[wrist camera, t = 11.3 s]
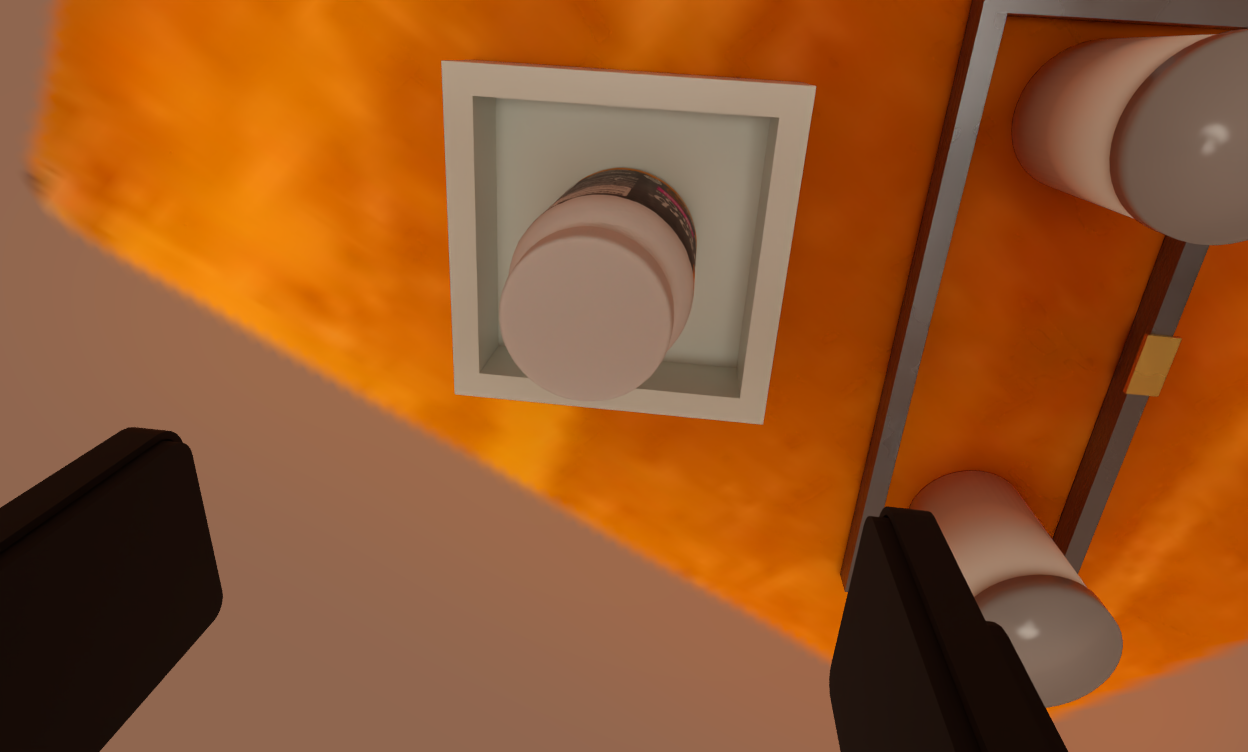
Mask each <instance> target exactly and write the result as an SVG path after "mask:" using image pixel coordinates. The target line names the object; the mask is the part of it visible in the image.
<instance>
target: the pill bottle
mask: <svg viewBox="0 0 1248 752" xmlns="http://www.w3.org/2000/svg"><path fill="white" fill-rule="evenodd" d="M696 250H697V239H696V231H695V226H694V222H693V218H692V216H691V213H690V211H689V209H688V207H687V205H686V203H685V202H684V201H683V199H682V198H681V196H680V195H679V194H678V193H677V192H676V190H675V189H674V188H673V187H671V186H670V185H669V184H668V183H666V182H665V181H664V180H662V179H661V178H659V177H657V176H655V175H653V174H651V173H649V172H646V171H643V170H639V169H635V168H624V167H617V168H609V169H605V170H601V171H598V172H595V173H593V174H591V175H589V176H587V177H585V178H583V179H581V180H580V181H579V182H577V183H576V184H574V185H573V186H572V187H571V188H569V189H568V190H567V191H566V192H565V193H564V194H563V195H562V196H561V197H560V198H559V199H558V200H557V201H556V202H555V203H553V204H552V205H551V206H550V207H549V208H548V209H547V210H546V211H545V212H544V213H543V214H541V215H540V216H539V217H538V218H537V219H536V220H535V221H534V222H533V223H532V224H531V225H530V227H529V228H528V229H527V230H526V232H525V233H524V234H523V236H522V237H521V239H520V240H519V242H518V244H517V247H516V249H515V251H514V254H513V257H512V261H511V264H510V269H509V276H508V278H507V280H506V282H505V285H504V288H503V291H502V295H501V299H500V306H499V321H500V329H501V334H502V338H503V340H504V343H505V346H506V348H507V350H508V352H509V354H510V356H511V357H512V359H513V361H514V362H515V363H516V365H517V366H518V367H519V369H520V370H521V371H522V372H523V373H524V374H525V375H526V376H527V377H528V378H529V379H530V380H532V381H533V382H534V383H535V384H537V385H538V386H540V387H541V388H543V389H545V390H546V391H548V392H550V393H552V394H555V395H557V396H560V397H563V398H567V399H571V400H576V401H603V400H609V399H613V398H616V397H619V396H622V395H625V394H627V393H629V392H631V391H632V390H634V389H636V388H637V387H639V386H640V385H641V384H643V383H644V382H645V381H646V380H647V379H648V378H649V377H650V376H651V375H652V374H653V373H654V372H655V371H656V369H657V368H658V367H659V365H660V363H661V362H662V360H663V358H664V356H665V354H666V352H667V351H668V350H669V349H670V348H671V347H672V345H673V344H674V343H675V341H676V340H677V339H678V337H679V336H680V334H681V332H682V331H683V329H684V327H685V325H686V322H687V320H688V317H689V314H690V311H691V308H692V302H693V296H694V282H695V265H696Z"/></svg>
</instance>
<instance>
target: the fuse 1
mask: <svg viewBox="0 0 1248 752" xmlns="http://www.w3.org/2000/svg"><path fill="white" fill-rule="evenodd" d="M909 509H914V510H924V511H929V512H931V513H932V514H933V515H934V517H935V519H936V521H937V523H938V525H939V527H940V529H941V531H942V533H943V535H944V537H945V539H946V541H947V543H948V545H949V547H950V549H951V551H952V553H953V555H954V557H955V559H956V561H957V563H958V565H959V568H960V570H961V572H962V574H963V576H964V578H965V580H966V582H967V584H968V586H969V588H970V590H971V592H972V594H973V596H974V598H975V600H976V602H977V604H978V606H979V608H980V610H981V612H982V614H983V616H984V618H985V620H986V621H992V622H995V623H997V624H999V625H1000V626H1002V628H1003V629H1004V631H1005V632H1006V634H1007V635H1008V636H1009V638H1010V640H1011V642H1012V644H1013V646H1014V648H1015V650H1016V652H1017V654H1018V656H1019V658H1020V660H1021V661H1022V663H1023V665H1024V667H1025V669H1026V671H1027V673H1028V675H1029V677H1030V679H1031V681H1032V683H1033V685H1034V687H1035V689H1036V690H1037V692H1038V694H1039V696H1040V698H1041V700H1042V702H1043V704H1044V706H1045V708H1046V707H1052V706H1058V705H1062V704H1065V703H1069V702H1071V701H1074V700H1076V699H1079V698H1081V697H1083V696H1085V695H1087V694H1089V693H1090V692H1092V691H1093V690H1095V689H1096V688H1098V687H1099V686H1100V685H1101V684H1103V683H1104V682H1105V681H1106V680H1107V679H1108V678H1109V677H1110V675H1111V674H1112V673H1113V671H1114V670H1115V668H1116V666H1117V665H1118V663H1119V660H1120V657H1121V654H1122V648H1123V640H1122V635H1121V631H1120V629H1119V626H1118V625H1117V623H1116V622H1115V620H1114V618H1113V617H1112V616H1111V614H1110V613H1109V612H1108V610H1107V609H1106V608H1105V606H1104V605H1103V603H1102V602H1101V601H1100V599H1099V598H1098V597H1097V596H1096V595H1095V594H1094V593H1093V592H1092V591H1091V590H1090V589H1088V588H1087V587H1086V585H1085V584H1084V582H1083V581H1082V580H1081V578H1080V577H1079V576H1078V574H1077V573H1076V571H1075V570H1074V569H1073V567H1072V566H1071V564H1070V563H1069V562H1068V560H1067V559H1066V558H1065V556H1064V555H1063V553H1062V552H1061V551H1060V549H1059V548H1058V546H1057V545H1056V544H1055V542H1054V541H1053V540H1052V538H1051V537H1050V535H1049V534H1048V533H1047V531H1046V530H1045V529H1044V527H1043V526H1042V524H1041V523H1040V522H1039V520H1038V519H1037V517H1036V516H1035V515H1034V513H1033V512H1032V511H1031V509H1030V508H1029V506H1028V505H1027V504H1026V502H1025V501H1024V500H1023V498H1022V497H1021V495H1020V494H1019V493H1018V491H1017V490H1016V489H1015V488H1014V487H1013V485H1012V484H1010V483H1009V482H1008V481H1007V480H1005V479H1003V478H1001V477H999V476H997V475H995V474H991V473H988V472H982V471H961V472H955V473H952V474H948V475H945V476H943V477H940V478H938V479H937V480H935V481H933V482H931V483H930V484H928V485H927V486H926V487H925V488H923V489H922V490H921V491H920V492H919V493H918V494H917V496H916V497H915V498H914V500H913V501H912V503H911V505H910V507H909Z"/></svg>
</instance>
